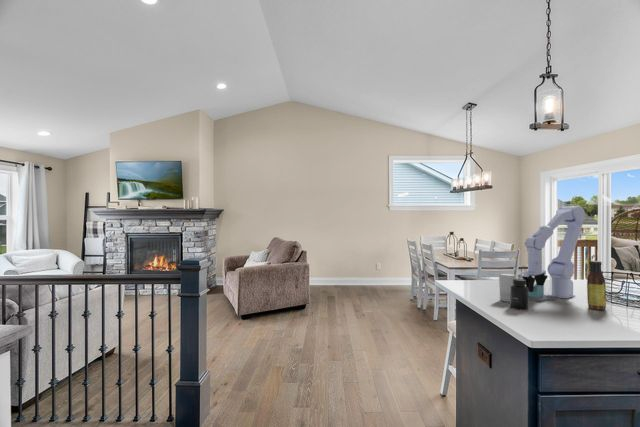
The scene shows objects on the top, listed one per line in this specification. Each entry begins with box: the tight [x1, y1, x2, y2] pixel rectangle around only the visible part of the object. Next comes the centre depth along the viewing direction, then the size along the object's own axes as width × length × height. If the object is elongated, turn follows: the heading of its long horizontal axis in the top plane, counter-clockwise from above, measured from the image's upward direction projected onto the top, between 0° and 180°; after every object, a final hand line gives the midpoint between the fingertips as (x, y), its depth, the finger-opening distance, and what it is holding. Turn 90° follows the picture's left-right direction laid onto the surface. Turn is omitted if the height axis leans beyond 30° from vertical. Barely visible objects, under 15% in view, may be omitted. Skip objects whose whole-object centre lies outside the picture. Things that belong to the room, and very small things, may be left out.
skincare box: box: [498, 273, 517, 302], centre depth 168 cm, size 6×4×12 cm
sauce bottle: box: [586, 260, 607, 311], centre depth 154 cm, size 6×6×20 cm
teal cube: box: [529, 283, 545, 298], centre depth 173 cm, size 5×5×5 cm
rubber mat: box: [528, 294, 556, 303], centre depth 173 cm, size 12×12×1 cm
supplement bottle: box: [509, 278, 529, 311], centre depth 156 cm, size 7×7×12 cm
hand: (534, 290), depth 173 cm, fingers open, 7 cm apart
